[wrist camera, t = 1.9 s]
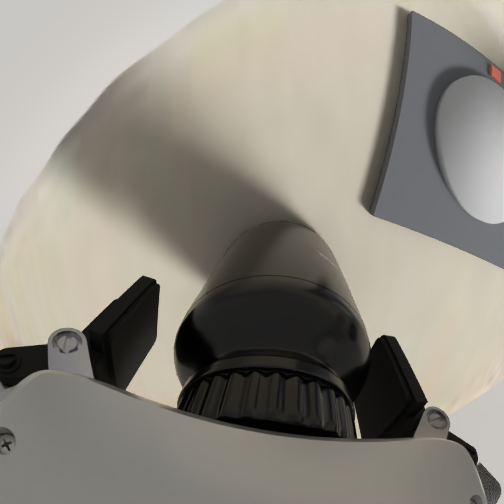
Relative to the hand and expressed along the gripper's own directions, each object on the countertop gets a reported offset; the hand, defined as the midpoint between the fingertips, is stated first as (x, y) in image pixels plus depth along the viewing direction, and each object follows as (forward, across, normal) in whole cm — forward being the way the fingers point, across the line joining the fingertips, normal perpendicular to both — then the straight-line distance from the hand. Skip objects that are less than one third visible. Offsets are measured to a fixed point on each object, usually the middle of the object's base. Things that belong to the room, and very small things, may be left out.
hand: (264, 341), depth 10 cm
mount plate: (+6, -11, -12) cm, 18 cm away
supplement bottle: (+6, 0, 0) cm, 6 cm away
